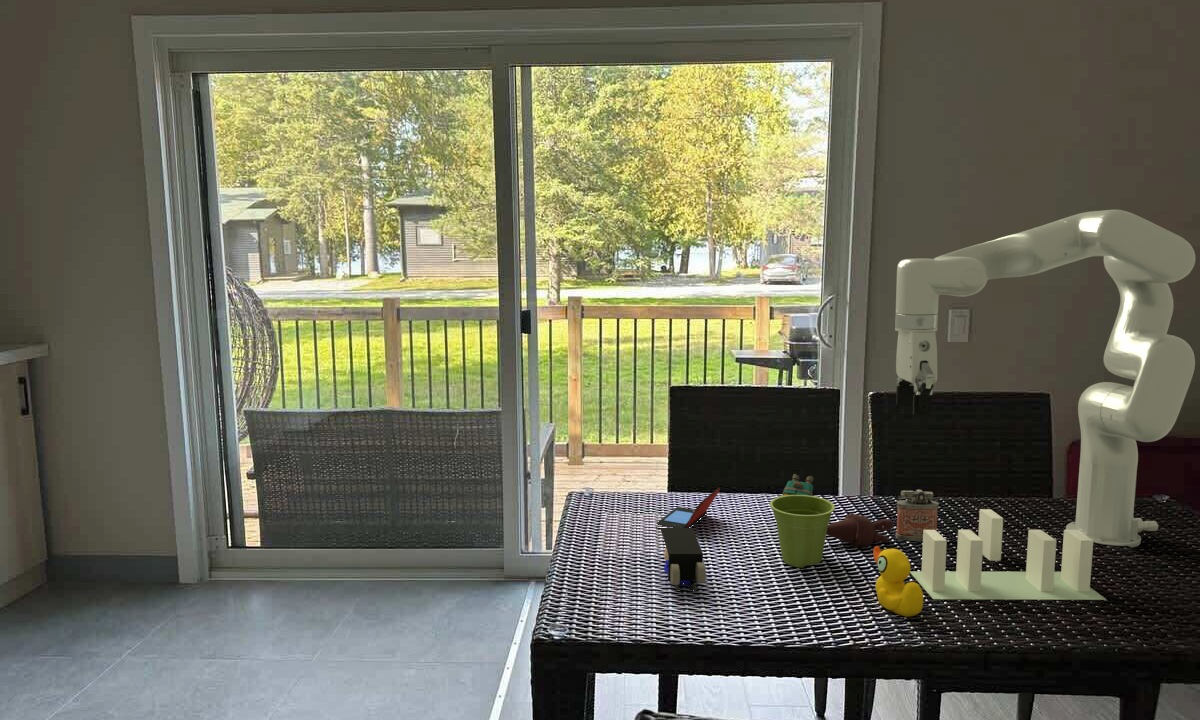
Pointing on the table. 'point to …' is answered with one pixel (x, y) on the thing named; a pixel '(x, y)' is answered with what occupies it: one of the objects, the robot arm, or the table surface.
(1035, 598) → the board
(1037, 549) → the domino
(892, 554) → the duckling
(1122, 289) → the robot arm
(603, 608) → the table surface
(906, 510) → the lighter
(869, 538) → the icecream
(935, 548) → the domino
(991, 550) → the domino
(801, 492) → the binoculars
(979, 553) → the domino
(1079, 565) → the domino
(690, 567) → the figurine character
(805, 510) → the plant pot
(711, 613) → the table surface
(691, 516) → the handheld game console
